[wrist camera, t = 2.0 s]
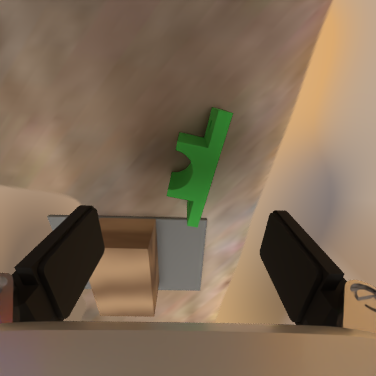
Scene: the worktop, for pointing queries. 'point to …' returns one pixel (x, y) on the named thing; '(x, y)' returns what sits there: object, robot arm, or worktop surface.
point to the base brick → (127, 268)
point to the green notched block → (199, 164)
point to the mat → (171, 251)
